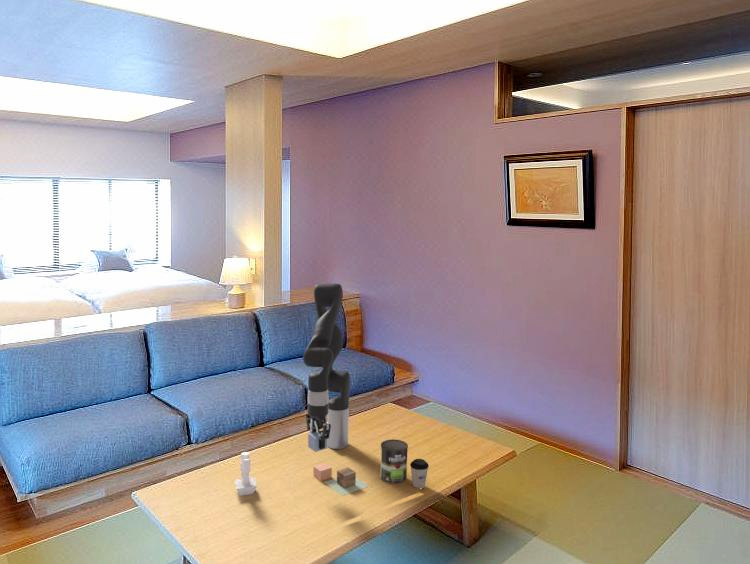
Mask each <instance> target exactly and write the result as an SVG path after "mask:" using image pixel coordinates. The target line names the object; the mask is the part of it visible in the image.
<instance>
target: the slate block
mask: <svg viewBox="0 0 750 564" xmlns="http://www.w3.org/2000/svg"><path fill="white" fill-rule="evenodd" d="M307 435H308V438H307V439H308V441H307V444H308V445H307V447H308V448H309V449H311V450H312V451H314V453H315V452H320V451H323V450H327V449H328V446H327V439H325V448H324V449H319V435H318V433H317V432H314V433H310V432H309V433H308V434H307ZM321 436H322V433H321Z"/></svg>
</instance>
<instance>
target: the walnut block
mask: <svg viewBox="0 0 750 564" xmlns="http://www.w3.org/2000/svg"><path fill="white" fill-rule="evenodd" d="M356 475H357V472H356V471H354V470H353V469H352V468H350V467H349V466H347V467H344V468H341V469H338V470H336V478H337V484H339V485H340V486H341V487H343V488H344V489H345V488H348V487H351V486H354V485H356V478H357V477H356Z"/></svg>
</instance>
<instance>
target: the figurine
mask: <svg viewBox="0 0 750 564" xmlns="http://www.w3.org/2000/svg"><path fill="white" fill-rule="evenodd" d="M250 456H251V455H250V452H248V451H243V452H241V454H240V462H239V463H240V471H241V478H237V479H234V480H233V481H234V484H235V485H234V486H235V487H236V491H237V493H238V494H239V496H240V497H241V496H249V495H253V494H254V492H255V491H256V489H257V487H258V484H257V482H256V478H255V476H250V472H251V459H250Z"/></svg>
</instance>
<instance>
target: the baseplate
mask: <svg viewBox="0 0 750 564" xmlns="http://www.w3.org/2000/svg"><path fill="white" fill-rule="evenodd" d="M323 483H324V484H325V485H327V486H328V487H329V488H331V489H333V490H334V491H335V492H336V493H338V494H339V495H340V496H346V495H348V494H351V493H353V492H356V491H359V490H362V489H364V488H366V487H367V488H368V487H369V485H368V484H367V483H366V482H364V481H362V480H360V479H359V478H358V477H356V485H354V486H351V487H348V488H345V489H344V488H343V487H341V486H340V485H339V484H337V477H335V478H333V479H329V480H327V481H324V482H323Z"/></svg>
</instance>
